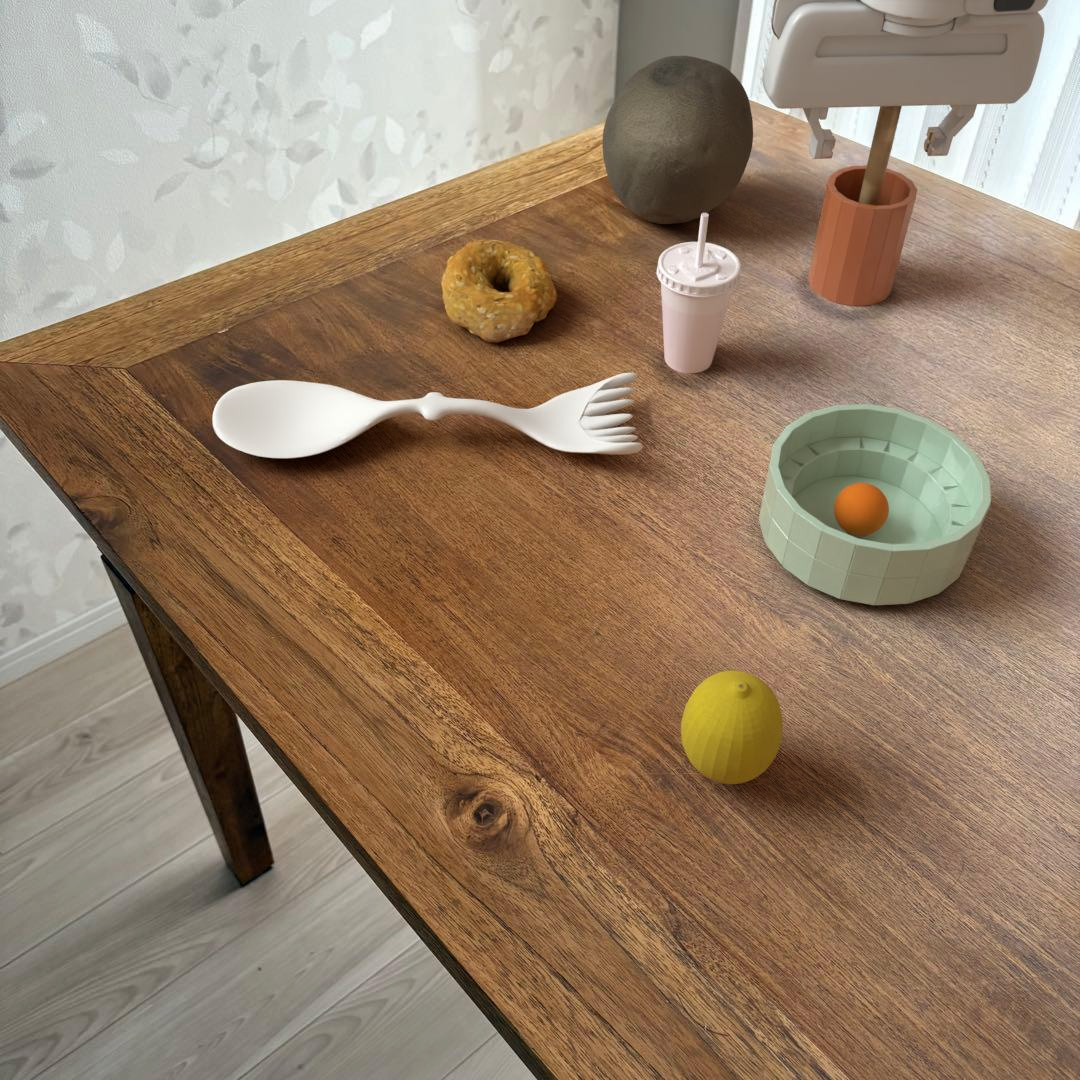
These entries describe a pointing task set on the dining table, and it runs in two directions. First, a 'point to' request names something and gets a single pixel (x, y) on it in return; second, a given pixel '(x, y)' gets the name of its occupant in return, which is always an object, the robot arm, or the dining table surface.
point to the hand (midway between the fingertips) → (877, 154)
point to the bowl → (905, 479)
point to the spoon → (340, 415)
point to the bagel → (497, 289)
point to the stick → (879, 154)
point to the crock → (860, 238)
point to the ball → (861, 509)
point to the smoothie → (695, 299)
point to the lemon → (732, 727)
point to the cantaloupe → (677, 139)
